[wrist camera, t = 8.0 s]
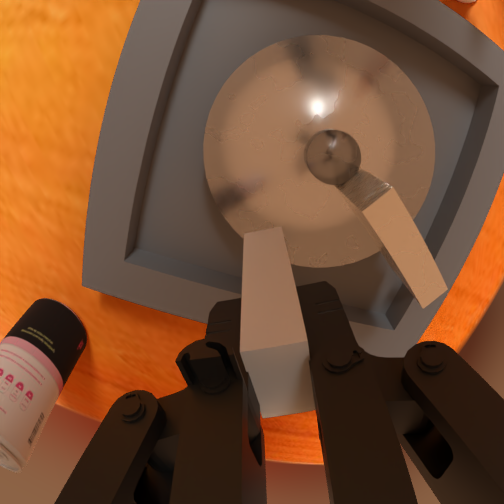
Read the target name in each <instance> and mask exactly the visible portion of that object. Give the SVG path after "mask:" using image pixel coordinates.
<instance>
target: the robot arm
mask: <svg viewBox="0 0 504 504" xmlns="http://www.w3.org/2000/svg"><path fill="white" fill-rule="evenodd" d="M207 324H208V326H207V329H206V335H205V339H202V340H198V341H195V342H193V343H192V344H190V345H188V346H186V347H185V348H184V349H183V350H182V351H181V352H180V353H179V355H178V357H177V359H176V361H175V362H176V364H177V366H178V367H179V369H180V371H181V373H182V375H183V377H184V379H185V381H186V383H187V385H188V387H186V388H185V389H183V390H181V391H179V392H177V393H174V394H171V395H168V396H165V397H162V398H159V399H156V398H155V397H154V395H153V394H152V393H150V392H147V391H145V390H135V391H132V392H128V393H126V394H124V395H123V396H121V397H120V398H118V399H117V400H116V402H115V403H114V404H113V405H112V407H111V408H110V410H109V412H108V413H107V415H106V417H105V418H104V420H103V421H102V423H101V425H100V427H99V428H98V430H97V431H96V433H95V435H94V437H93V438H92V440H91V441H90V443H89V445H88V447H87V448H86V450H85V451H84V453H83V455H82V456H81V458H80V460H79V462H78V463H77V465H76V467H75V469H74V470H73V472H72V474H71V475H70V477H69V479H68V481H67V483H66V484H65V486H64V488H63V489H62V491H61V493H60V495H59V497H58V498H57V500H56V502H55V504H267V496H266V472H265V446H264V433H263V430H262V427H261V425H260V412H261V415H262V418H269V417H276V416H283V415H289V414H295V413H301V412H307V411H313V410H316V414H317V421H318V430H319V439H320V441H321V447H322V454H323V460H324V466H325V473H326V479H327V486H328V493H329V499H330V504H418V503H417V499H416V495H415V492H414V488H413V485H412V482H411V478H410V475H409V472H408V468H407V465H406V462H405V459H404V456H403V453H402V449H401V446H400V444H401V445H402V447H403V448H404V450H405V451H406V453H407V454H408V456H409V457H410V459H411V460H412V461H413V463H414V464H415V466H416V467H417V469H418V470H419V472H420V473H421V475H422V476H423V478H424V479H425V481H426V482H427V484H428V485H429V487H430V488H431V490H432V491H433V493H434V494H435V496H436V497H437V499H438V500H439V502H440V503H441V504H504V399H503V398H502V397H501V396H500V395H499V394H498V393H497V392H496V391H495V390H494V389H493V388H492V387H491V386H490V385H489V384H488V383H487V382H486V381H485V380H484V379H483V378H482V377H481V376H480V375H479V374H478V373H477V372H476V371H475V370H474V369H473V368H472V367H471V366H470V365H469V364H468V363H467V362H466V361H465V360H464V359H462V358H461V357H460V356H459V355H458V354H457V353H456V352H455V351H454V350H453V349H452V348H450V347H449V346H447V345H446V344H444V343H440V342H436V341H424V342H421V343H418V344H415V345H414V346H413V347H411V348H410V349H409V350H408V351H407V353H406V355H405V357H378V356H375V355H371V354H369V353H367V352H366V351H365V350H364V349H363V348H361V347H360V346H359V345H358V343H357V341H356V339H355V336H354V334H353V331H352V329H351V326H350V324H349V321H348V318H347V316H346V313H345V311H344V309H343V306H342V303H341V301H340V298H339V296H338V294H337V291H336V289H335V288H334V287H333V286H332V285H330V284H329V283H328V282H326V281H322V282H317V283H312V284H307V285H302V286H295V281H294V277H293V273H292V268H291V264H290V260H289V256H288V251H287V247H286V243H285V239H284V235H283V231H282V226H281V227H275V228H270V229H265V230H260V231H255V232H250V233H245V234H244V246H243V273H242V298H237V299H231V300H225V301H219V302H217V303H216V304H215V305H214V307H213V308H212V309H211V311H210V312H209V317H208V323H207ZM399 442H400V443H399Z"/></svg>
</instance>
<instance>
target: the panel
mask: <svg viewBox="0 0 504 504" xmlns="http://www.w3.org/2000/svg"><path fill="white" fill-rule="evenodd" d="M307 35H329V36H336V37H343V38H346V39H350V40H353V41H357V42H359V43H362V44H364V45H366V46H369V47H371V48H373V49H374V50H376V51H378V52H379V53H381V54H383V55H384V56H386V57H387V58H388V59H389V60H391V61H392V62H393V63H394V64H396V65H397V66H398V67H399V68H400V69H401V70H402V71H403V72H404V73H405V74H406V75H407V76H408V78H409V79H410V80H411V82H412V83H413V84H414V86H415V87H416V89H417V90H418V92H419V94H420V96H421V97H422V99H423V101H424V103H425V106H426V108H427V111H428V113H429V116H430V120H431V123H432V127H433V132H434V140H435V164H434V172H433V177H432V181H431V185H430V188H429V191H428V193H427V196H426V199H425V201H424V203H423V205H422V207H421V208H420V210H419V212H418V214H417V215H416V217H415V218H414V219H413V221H414V223H415V225H416V227H417V229H418V230H419V232H420V234H421V236H422V238H423V240H424V242H425V243H426V245H427V247H428V249H429V251H430V253H431V255H432V257H433V259H434V261H435V263H436V265H437V267H438V269H439V271H440V273H441V275H442V277H443V280H444V282H445V284H446V286H447V288H448V290H446V291H445V292H444V293H443V294H441V295H440V296H439V297H438V298H436V299H435V300H434V301H433V302H431V303H430V304H429V305H428V306H426V307H425V308H424V309H423V308H422V307H421V306H420V304H419V303H418V302H417V300H416V299H415V298H414V296H413V295H412V294H411V292H410V291H409V290H408V289H407V287H406V286H405V285H404V283H403V282H402V281H401V280H400V278H399V277H398V276H397V274H396V273H395V272H394V271H393V269H392V268H391V267H390V265H389V264H388V262H387V261H386V259H385V258H384V256H383V255H382V253H381V252H380V251H379V252H377V253H375V254H373V255H371V256H369V257H367V258H365V259H362V260H359V261H357V262H354V263H350V264H346V265H342V266H335V267H324V268H313V267H304V266H298V265H294V264H291V268H292V273H293V277H294V281H295V286H302V285H307V284H312V283H317V282H322V281H326V282H328V283H329V284H330V285H332V286H333V287H334V288H335V289H336V291H337V294H338V296H339V298H340V301H341V303H342V306H343V309H344V311H345V313H346V316H347V318H348V321H349V324H350V326H351V329H352V331H353V334H354V336H355V339H356V341H357V343H358V345H359V346H360V347H361V348H363V349H364V350H365V351H366V352H367V353H369V354H371V355H375V356H378V357H405V355H406V353H407V351H408V350H409V349H410V348H411V347H413V346H414V345H415V344H416V343H417V342H418V341H419V339H420V338H421V336H422V335H423V333H424V332H425V330H426V328H427V327H428V325H429V324H430V322H431V321H432V319H433V317H434V316H435V314H436V313H437V311H438V309H439V308H440V306H441V304H442V303H443V301H444V299H445V298H446V296H447V294H448V292H449V291H450V289H451V287H452V285H453V284H454V282H455V280H456V278H457V276H458V274H459V273H460V271H461V269H462V267H463V265H464V263H465V261H466V259H467V257H468V255H469V253H470V251H471V249H472V247H473V245H474V243H475V241H476V239H477V237H478V235H479V232H480V230H481V228H482V226H483V224H484V221H485V219H486V217H487V214H488V212H489V210H490V207H491V205H492V202H493V200H494V197H495V195H496V192H497V190H498V187H499V184H500V182H501V179H502V176H503V173H504V51H503V50H502V49H501V48H500V47H499V46H498V45H496V44H495V43H494V42H493V41H492V40H491V39H489V38H488V37H487V36H486V35H485V34H483V33H482V32H481V31H480V30H478V29H477V28H476V27H475V26H473V25H472V24H471V23H469V22H468V21H467V20H466V19H464V18H463V17H461V16H460V15H459V14H457V13H456V12H455V11H453V10H452V9H450V8H449V7H447V6H446V5H444V4H443V3H441V2H440V1H438V0H141V1H140V3H139V6H138V8H137V11H136V13H135V16H134V18H133V21H132V24H131V26H130V29H129V32H128V35H127V38H126V41H125V43H124V46H123V49H122V53H121V56H120V59H119V62H118V65H117V69H116V72H115V75H114V79H113V82H112V86H111V90H110V93H109V97H108V101H107V105H106V109H105V113H104V118H103V122H102V127H101V131H100V136H99V141H98V146H97V151H96V157H95V162H94V168H93V174H92V181H91V187H90V195H89V202H88V211H87V220H86V230H85V241H84V255H83V273H82V286H84V287H87V288H90V289H93V290H96V291H99V292H102V293H105V294H108V295H111V296H114V297H117V298H120V299H123V300H126V301H129V302H133V303H136V304H139V305H142V306H146V307H149V308H152V309H156V310H159V311H163V312H166V313H170V314H173V315H177V316H180V317H184V318H187V319H191V320H195V321H199V322H202V323H206V324H207V323H208V317H209V312H210V311H211V309H212V308H213V307H214V305H215V304H216V303H217V302H219V301H225V300H231V299H237V298H242V273H243V246H244V239H243V238H242V237H241V236H240V235H239V234H238V233H237V232H236V231H235V230H234V229H233V228H232V227H231V225H230V224H229V223H228V222H227V221H226V219H225V218H224V216H223V215H222V213H221V211H220V210H219V208H218V207H217V205H216V202H215V200H214V198H213V196H212V194H211V191H210V188H209V185H208V181H207V178H206V173H205V167H204V157H203V143H204V134H205V127H206V123H207V120H208V116H209V112H210V110H211V108H212V105H213V103H214V101H215V98H216V96H217V95H218V93H219V91H220V90H221V88H222V86H223V85H224V83H225V82H226V81H227V79H228V78H229V77H230V76H231V75H232V73H233V72H234V71H235V70H236V69H237V68H238V67H239V66H240V65H241V64H243V63H244V62H245V61H246V60H247V59H248V58H250V57H251V56H253V55H254V54H256V53H257V52H259V51H260V50H262V49H264V48H266V47H268V46H270V45H272V44H275V43H277V42H280V41H283V40H286V39H290V38H294V37H300V36H307Z"/></svg>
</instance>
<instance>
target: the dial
mask: <svg viewBox="0 0 504 504" xmlns="http://www.w3.org/2000/svg"><path fill="white" fill-rule="evenodd" d="M203 157H204V167H205V173H206V178H207V181H208V185H209V188H210V191H211V194H212V196H213V198H214V200H215V202H216V205H217V207H218V208H219V210H220V211H221V213H222V215H223V216H224V218H225V219H226V221H227V222H228V223H229V224H230V225H231V227H232V228H233V229H234V230H235V231H236V232H237V233H238V234H239V235H240V236H241V237H242V238H243V239H244V234H245V233H250V232H255V231H260V230H265V229H270V228H275V227H281V226H282V231H283V235H284V239H285V243H286V247H287V251H288V256H289V260H290V264H294V265H298V266H304V267H313V268H324V267H335V266H342V265H346V264H350V263H354V262H357V261H359V260H362V259H365V258H367V257H369V256H371V255H373V254H375V253H377V252H379V251H380V252H381V253H382V255H383V256H384V258H385V259H386V261H387V262H388V264H389V265H390V267H391V268H392V269H393V271H394V272H395V273H396V274H397V276H398V277H399V278H400V280H401V281H402V282H403V283H404V285H405V286H406V287H407V289H408V290H409V291H410V292H411V294H412V295H413V296H414V298H415V299H416V300H417V302H418V303H419V304H420V306H421V307H422V308H423V309H424V308H425V307H426V306H428V305H429V304H430V303H431V302H433V301H434V300H435V299H436V298H438V297H439V296H440V295H441V294H443V293H444V292H445V291H446V290H448V288H447V286H446V284H445V282H444V280H443V277H442V275H441V273H440V271H439V269H438V267H437V265H436V263H435V261H434V259H433V257H432V255H431V253H430V251H429V249H428V247H427V245H426V243H425V242H424V240H423V238H422V236H421V234H420V232H419V230H418V229H417V227H416V225H415V223H414V221H413V219H414V218H415V217H416V215H417V214H418V212H419V210H420V208H421V207H422V205H423V203H424V201H425V199H426V196H427V193H428V191H429V188H430V185H431V181H432V177H433V172H434V164H435V140H434V132H433V127H432V123H431V120H430V116H429V113H428V111H427V108H426V106H425V103H424V101H423V99H422V97H421V96H420V94H419V92H418V90H417V89H416V87H415V86H414V84H413V83H412V82H411V80H410V79H409V78H408V76H407V75H406V74H405V73H404V72H403V71H402V70H401V69H400V68H399V67H398V66H397V65H396V64H394V63H393V62H392V61H391V60H389V59H388V58H387V57H386V56H384V55H383V54H381V53H379V52H378V51H376V50H374V49H373V48H371V47H369V46H366V45H364V44H362V43H359V42H357V41H353V40H350V39H346V38H343V37H336V36H329V35H307V36H300V37H294V38H290V39H286V40H283V41H280V42H277V43H275V44H272V45H270V46H268V47H266V48H264V49H262V50H260V51H259V52H257V53H256V54H254V55H253V56H251V57H250V58H248V59H247V60H246V61H245V62H244V63H243V64H241V65H240V66H239V67H238V68H237V69H236V70H235V71H234V72H233V73H232V75H231V76H230V77H229V78H228V79H227V81H226V82H225V83H224V85H223V86H222V88H221V90H220V91H219V93H218V95H217V96H216V98H215V101H214V103H213V105H212V108H211V110H210V112H209V116H208V120H207V123H206V127H205V134H204V143H203Z"/></svg>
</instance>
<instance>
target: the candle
mask: <svg viewBox="0 0 504 504" xmlns="http://www.w3.org/2000/svg"><path fill="white" fill-rule="evenodd" d="M457 1H460V2H463V3H472V2H475V1H476V0H457Z"/></svg>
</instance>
